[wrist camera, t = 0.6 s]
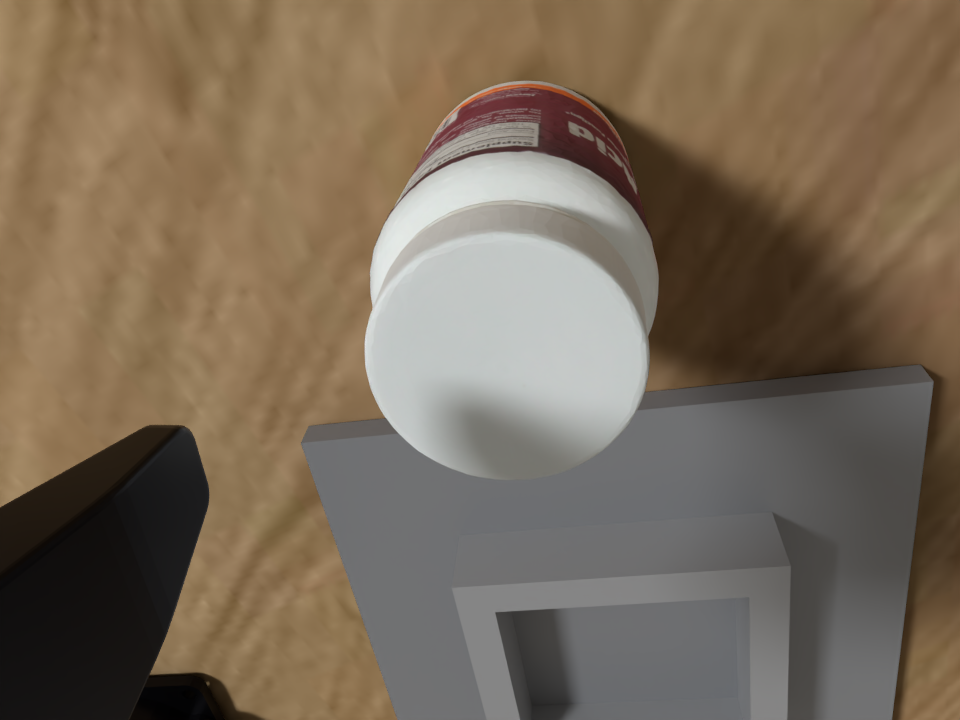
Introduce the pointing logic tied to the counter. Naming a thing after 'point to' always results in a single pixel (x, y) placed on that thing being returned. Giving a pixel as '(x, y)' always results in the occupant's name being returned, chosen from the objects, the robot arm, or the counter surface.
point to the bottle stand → (647, 559)
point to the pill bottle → (514, 288)
